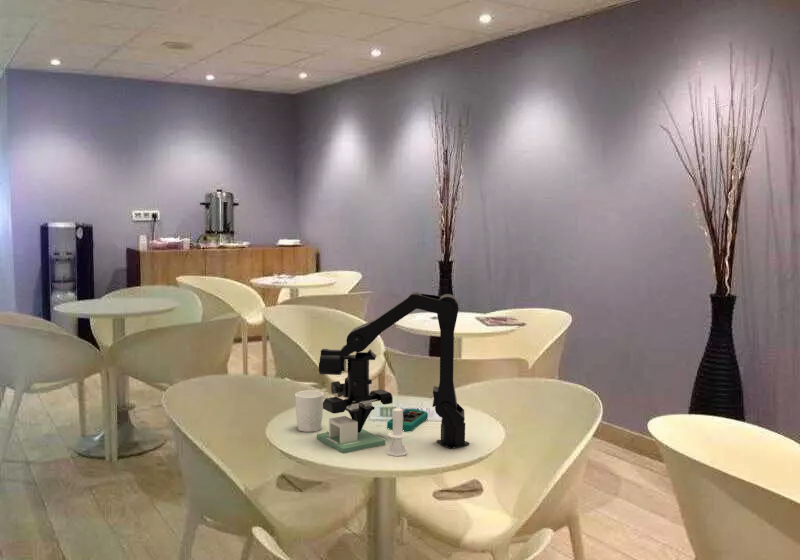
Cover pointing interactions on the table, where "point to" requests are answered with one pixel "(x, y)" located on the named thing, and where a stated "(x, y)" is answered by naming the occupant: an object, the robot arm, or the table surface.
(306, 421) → the white cup
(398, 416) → the candle
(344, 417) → the block
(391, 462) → the table surface
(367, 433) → the header board
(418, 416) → the digital multimeter
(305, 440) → the table surface
